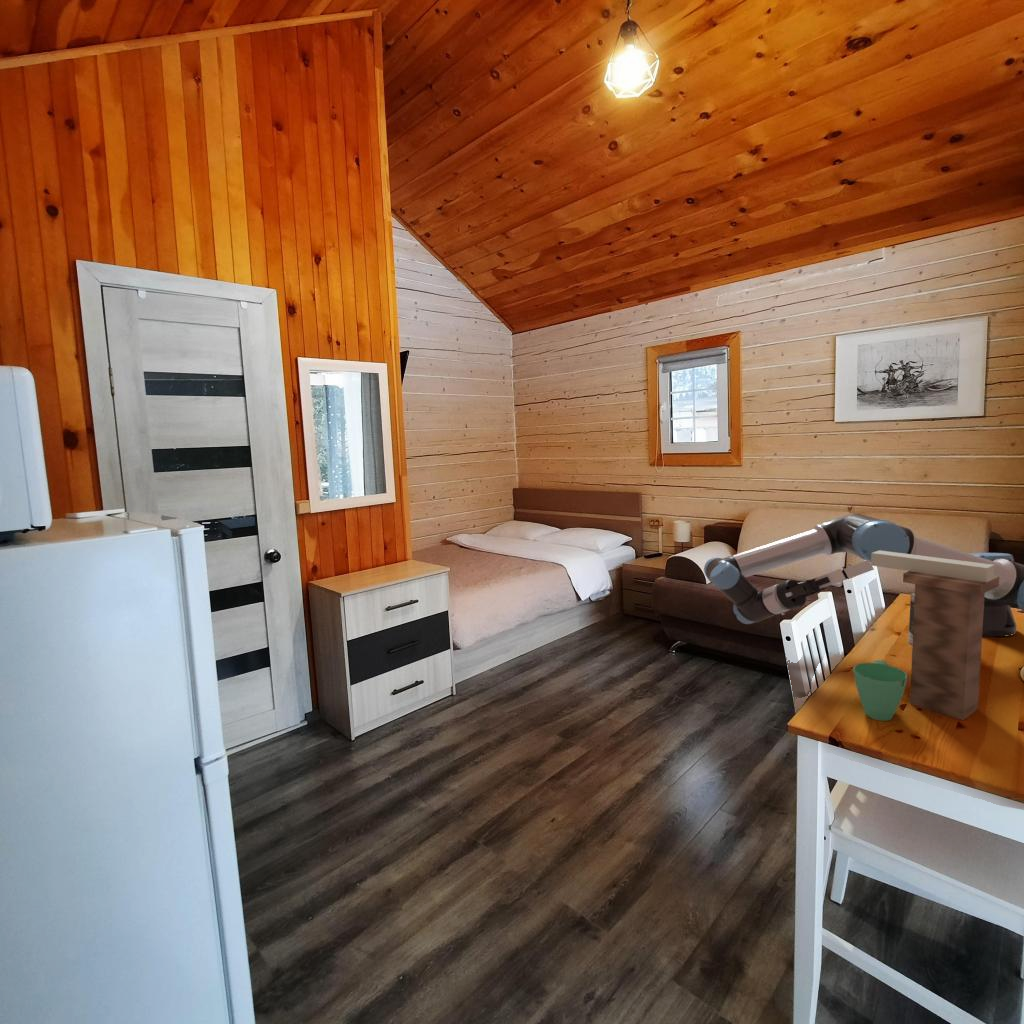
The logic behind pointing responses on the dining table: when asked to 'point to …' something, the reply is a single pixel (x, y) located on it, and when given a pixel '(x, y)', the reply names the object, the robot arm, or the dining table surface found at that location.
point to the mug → (880, 688)
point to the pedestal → (947, 642)
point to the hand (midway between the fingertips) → (857, 569)
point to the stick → (934, 565)
